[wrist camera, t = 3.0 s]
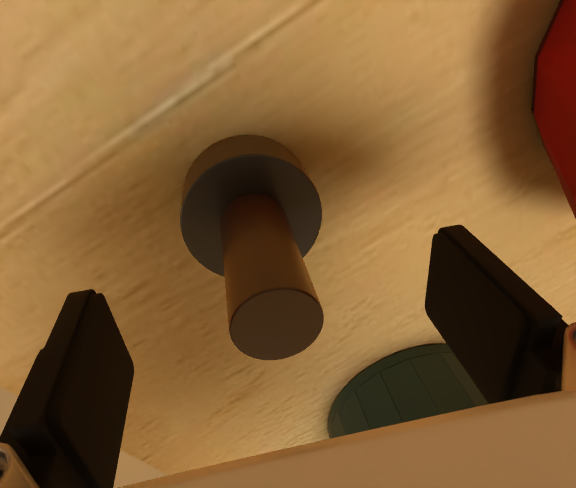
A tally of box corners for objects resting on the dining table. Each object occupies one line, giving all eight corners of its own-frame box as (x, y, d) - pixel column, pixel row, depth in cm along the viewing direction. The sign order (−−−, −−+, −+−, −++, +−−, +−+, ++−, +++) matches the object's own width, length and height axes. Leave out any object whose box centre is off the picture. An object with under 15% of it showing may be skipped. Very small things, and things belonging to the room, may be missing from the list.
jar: (330, 474, 31) (369, 616, 24) (323, 366, 25) (372, 515, 18) (478, 439, 33) (556, 563, 25) (508, 326, 26) (624, 451, 19)
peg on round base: (197, 259, 19) (195, 413, 12) (168, 145, 16) (143, 260, 9) (312, 239, 20) (374, 374, 13) (303, 125, 17) (379, 218, 10)
